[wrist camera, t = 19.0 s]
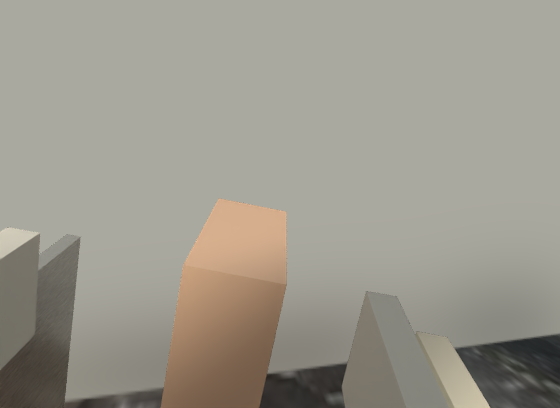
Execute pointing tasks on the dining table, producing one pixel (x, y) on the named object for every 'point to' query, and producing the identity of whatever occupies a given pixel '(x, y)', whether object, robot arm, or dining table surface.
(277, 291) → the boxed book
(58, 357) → the grey flat panel
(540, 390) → the dining table surface
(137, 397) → the dining table surface
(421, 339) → the books
